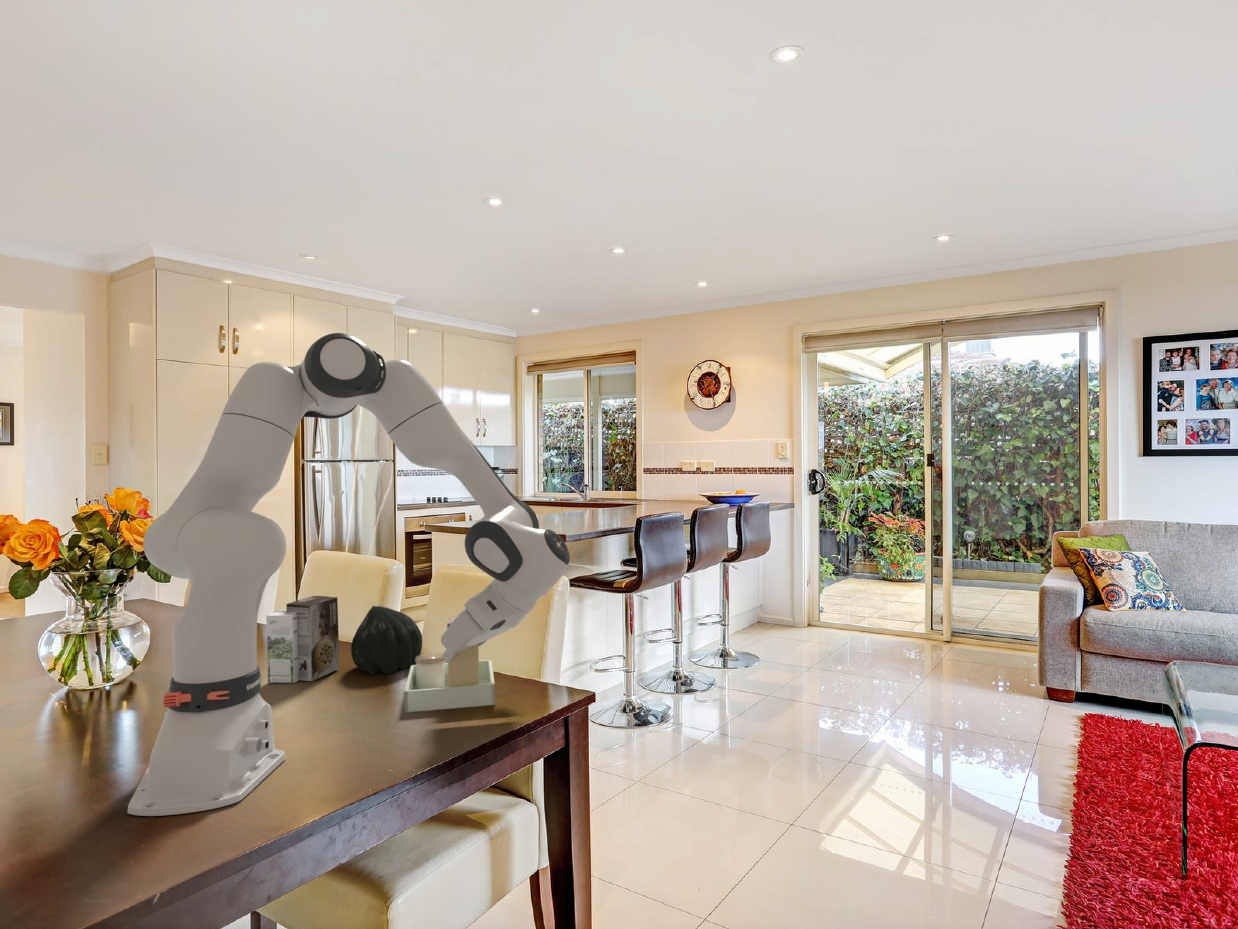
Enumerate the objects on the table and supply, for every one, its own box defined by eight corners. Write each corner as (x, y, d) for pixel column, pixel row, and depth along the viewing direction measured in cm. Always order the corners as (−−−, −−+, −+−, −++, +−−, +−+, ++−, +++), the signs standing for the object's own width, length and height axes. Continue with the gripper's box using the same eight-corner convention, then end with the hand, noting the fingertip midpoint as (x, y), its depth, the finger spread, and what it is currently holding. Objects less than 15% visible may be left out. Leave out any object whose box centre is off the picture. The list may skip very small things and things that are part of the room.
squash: (444, 643, 159) (411, 589, 164) (389, 663, 146) (355, 603, 151) (413, 678, 165) (383, 625, 170) (358, 700, 153) (326, 641, 158)
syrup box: (307, 676, 155) (305, 608, 155) (293, 684, 149) (292, 614, 149) (281, 676, 155) (279, 608, 155) (266, 684, 149) (265, 614, 149)
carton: (479, 692, 134) (478, 621, 133) (448, 694, 132) (447, 623, 132) (478, 683, 139) (477, 615, 139) (449, 685, 138) (447, 617, 138)
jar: (445, 691, 141) (445, 659, 141) (414, 693, 140) (414, 662, 139) (446, 682, 146) (445, 652, 146) (416, 684, 145) (416, 654, 145)
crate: (495, 709, 132) (494, 684, 132) (404, 716, 129) (404, 691, 129) (491, 681, 149) (491, 659, 149) (411, 687, 146) (411, 665, 146)
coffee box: (315, 667, 161) (314, 595, 161) (340, 669, 159) (339, 596, 159) (286, 679, 152) (284, 603, 152) (312, 681, 150) (310, 604, 150)
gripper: (522, 581, 143) (480, 627, 146) (463, 600, 124) (417, 652, 127) (542, 605, 141) (500, 651, 145) (485, 628, 122) (438, 680, 126)
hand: (460, 652), depth 136 cm, fingers closed on carton, 7 cm apart
